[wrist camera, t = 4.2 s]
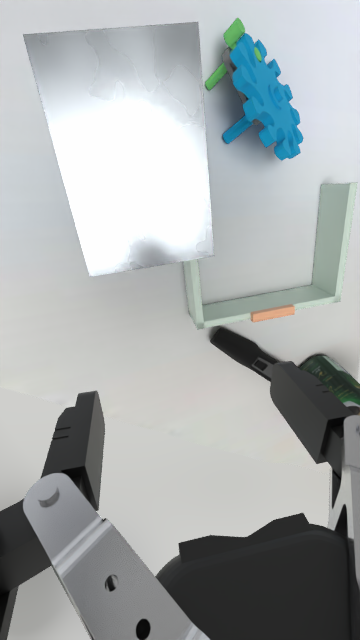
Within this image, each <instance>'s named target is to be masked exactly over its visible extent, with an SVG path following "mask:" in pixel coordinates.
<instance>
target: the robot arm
mask: <svg viewBox="0 0 360 640" xmlns="http://www.w3.org/2000/svg"><path fill="white" fill-rule="evenodd" d="M270 394H271V398H272V401H273V403H274V404H275V406H276V407H277V408H278V410H279V411H280V413H281V414H282V415H283V417H284V418H285V420H286V421H287V423H288V424H289V425H290V427H291V428H292V430H293V431H294V432H295V434H296V435H297V437H298V438H299V440H300V441H301V442H302V444H303V445H304V447H305V448H306V450H307V451H308V452H309V454H310V455H311V457H312V458H313V459H314V461H315V462H316V464H319V463H323V462H328V463H329V464H330V465H331V468H330V486H329V521H328V527H327V528H326V527H323V526H319V525H314V524H309V522H308V521H307V519H306V517H305V515H304V514H303V513H300V514H296V515H292V516H288V517H284V518H280V519H276V520H273V521H272V522H270V523H268V524H267V525H266V526H264V527H262V528H261V529H259V530H257V531H256V532H254V533H253V534H251V535H250V536H248V537H230V536H214V535H213V536H212V535H210V536H206V537H202V538H198V539H194V540H190V541H185V542H181V543H179V553H180V554H179V555H178V556H176V557H175V558H173V559H172V560H171V561H170V562H168V563H167V564H166V565H165V566H164V567H163V568H162V569H161V570H160V571H159V573H158V574H157V575H156V576H154V575H153V574H152V572H151V571H150V570H149V569H148V567H147V566H146V565H145V564H144V563H143V561H142V560H141V559H140V557H139V556H138V555H137V554H136V553H135V551H134V550H133V549H132V548H131V546H130V545H129V544H128V543H127V541H126V540H125V539H124V538H123V536H122V535H121V534H120V533H119V532H118V530H117V529H116V528H115V527H114V526H113V524H112V523H111V522H110V521H109V520H108V519H106V518H105V519H104V520H103V519H102V518H101V517H100V516H99V514H98V513H97V512H96V511H97V510H98V508H99V497H100V483H101V472H102V459H103V447H104V446H103V445H104V435H105V424H104V417H103V412H102V408H101V404H100V399H99V395H98V392H97V391H92V392H85V393H79V394H78V397H77V401H76V405H75V407H70V408H66V409H65V410H64V412H63V413H62V414H61V415H60V417H59V418H58V421H57V424H56V428H55V432H54V434H53V438H52V439H53V440H52V441H51V445H50V448H49V452H48V455H47V459H46V462H45V466H44V469H43V473H42V476H41V479H40V480H38V481H37V482H36V483H35V484H34V485H33V486H32V487H31V488H30V489H29V491H28V492H27V494H26V496H25V498H24V499H22V500H21V501H20V502H18V503H16V504H14V505H12V506H10V507H8V508H6V509H4V510H2V511H0V640H7V636H8V632H9V627H10V622H11V618H12V613H13V608H14V604H15V599H16V595H17V591H18V586H19V585H20V584H22V583H23V582H25V581H27V580H28V579H30V578H32V577H33V576H35V575H37V574H38V573H40V572H42V571H43V570H45V569H46V568H48V567H50V566H52V568H53V570H54V572H55V574H56V575H57V577H58V579H59V581H60V583H61V585H62V586H63V588H64V590H65V592H66V594H67V596H68V597H69V599H70V601H71V603H72V605H73V607H74V608H75V610H76V612H77V614H78V616H79V618H80V620H81V622H82V623H83V625H84V627H85V629H86V631H87V633H88V635H89V637H90V639H91V640H360V416H359V415H355V414H354V413H353V412H352V411H350V410H349V409H348V408H347V407H346V406H345V405H344V404H343V403H342V402H341V401H340V400H339V399H338V398H337V397H336V396H335V395H334V394H333V393H332V392H330V390H329V389H328V388H327V387H326V386H325V385H323V383H322V382H321V381H320V380H319V379H318V378H316V377H315V376H314V375H312V374H310V373H308V372H307V371H305V370H300V369H299V368H298V367H297V366H296V365H295V364H294V363H293V362H292V361H287V362H281V363H275V364H274V365H273V369H272V378H271V386H270Z"/></svg>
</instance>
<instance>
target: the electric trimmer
mask: <svg viewBox="0 0 360 640" xmlns="http://www.w3.org/2000/svg"><path fill="white" fill-rule="evenodd" d="M210 342H211V343H212V344H213V345H214V346H216V347H217V348H219V349H220V350H221V351H223V352H224V353H226V354H227V355H228V356H230V357H231V358H232V359H234V360H235V361H237V362H238V363H240V364H242V365H244V366H246V367H248V368H250V369H251V370H253V371H255V372H256V373H258V374H259V375H261V376H262V377H264V378H265V379H267V380H268V381H270V382H271V378H272V369H273V365H274V364H275V363H280V362H278V361H276V360H275V359H273V358H271V357H270V356H268V355H267V354H266V353H264V352H263V351H262V350H261V349H260V348H259V347H258V346H257V345H256V344H255V343H253V342H252V341H250V340H247V339H245V338H243V337H241V336H239V335H237V334H234V333H232V332H230V331H228V330H226V329H223V328H220V329H219V330H218V331H217V332H216V334H215V335H214V336H213V338H212V339H211V340H210Z"/></svg>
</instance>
